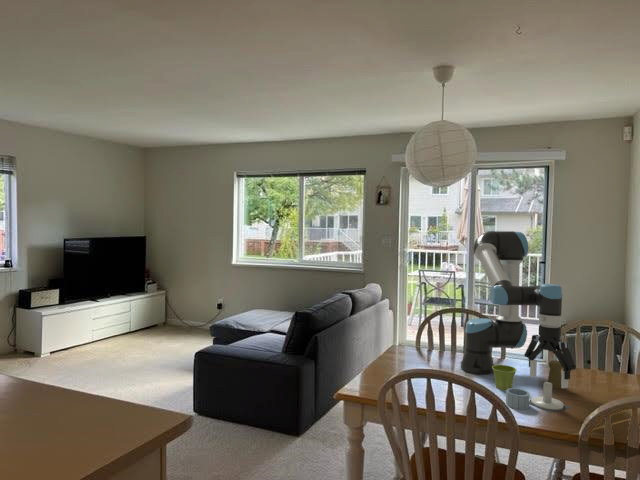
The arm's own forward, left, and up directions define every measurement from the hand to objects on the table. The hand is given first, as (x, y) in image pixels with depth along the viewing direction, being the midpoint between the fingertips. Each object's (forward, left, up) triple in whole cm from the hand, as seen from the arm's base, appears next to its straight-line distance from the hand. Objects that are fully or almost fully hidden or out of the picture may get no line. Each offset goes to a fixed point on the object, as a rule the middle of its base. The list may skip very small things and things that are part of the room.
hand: (548, 382), depth 178 cm
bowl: (-4, -11, -9) cm, 15 cm away
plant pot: (-20, -1, -9) cm, 22 cm away
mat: (0, 0, -9) cm, 9 cm away
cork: (-13, +21, -9) cm, 27 cm away
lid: (0, 0, -9) cm, 9 cm away
